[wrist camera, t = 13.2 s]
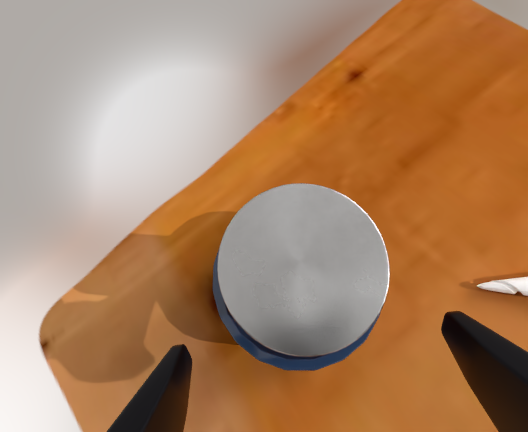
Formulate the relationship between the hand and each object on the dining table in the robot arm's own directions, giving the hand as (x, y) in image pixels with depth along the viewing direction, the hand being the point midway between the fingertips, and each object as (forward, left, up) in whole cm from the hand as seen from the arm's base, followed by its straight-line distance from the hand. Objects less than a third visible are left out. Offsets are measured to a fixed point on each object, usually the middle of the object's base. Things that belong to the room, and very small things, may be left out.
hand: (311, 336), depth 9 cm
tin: (+2, +1, -12) cm, 12 cm away
